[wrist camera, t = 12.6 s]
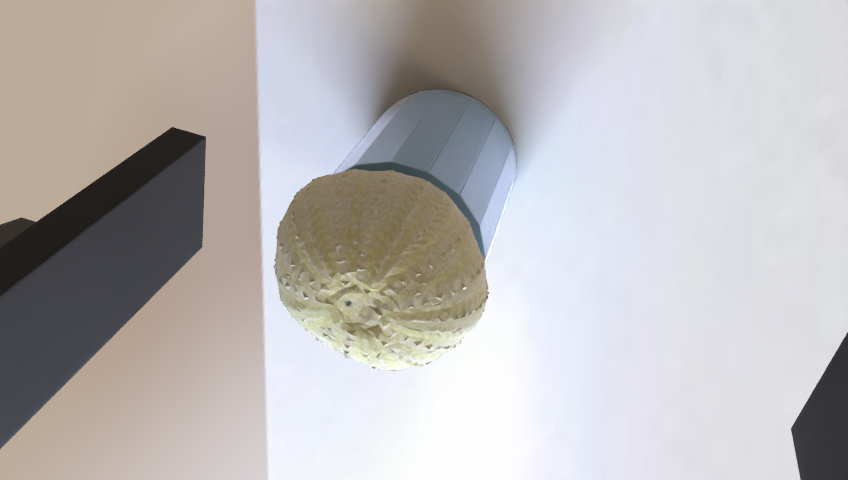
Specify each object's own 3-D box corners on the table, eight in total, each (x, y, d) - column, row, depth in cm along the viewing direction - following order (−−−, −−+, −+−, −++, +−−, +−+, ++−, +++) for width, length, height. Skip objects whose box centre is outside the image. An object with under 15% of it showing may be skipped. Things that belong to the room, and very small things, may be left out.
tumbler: (533, 112, 42) (503, 193, 33) (496, 243, 46) (462, 345, 38) (384, 71, 43) (318, 140, 34) (361, 204, 47) (297, 294, 38)
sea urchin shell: (393, 403, 38) (256, 399, 32) (349, 260, 41) (219, 231, 35) (545, 311, 33) (419, 286, 27) (481, 159, 37) (358, 107, 31)
